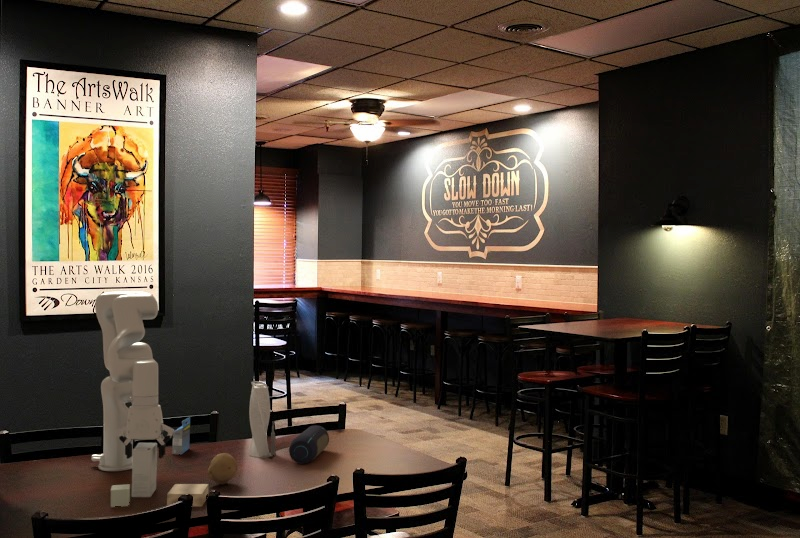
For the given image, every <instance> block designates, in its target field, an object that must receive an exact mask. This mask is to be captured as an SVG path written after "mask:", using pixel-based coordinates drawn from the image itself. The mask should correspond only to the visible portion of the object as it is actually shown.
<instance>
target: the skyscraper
mask: <svg viewBox="0 0 800 538" xmlns="http://www.w3.org/2000/svg"><path fill="white" fill-rule="evenodd" d="M248 411H249V415H248V416H249V425H250V431H251V435H252V437H251V441H250V442H251V443H250V449H249V453H248V456H249V457H252V458H258V459H262V460H264V459H267V458H270V457H273V455H274V456H277V454H276V451H275V450H276V443H275V437H276V433H275V431H274V430H275V423H274V421H272V426H271V433H270V445H269V444H268V439H267V432H268V426H269V423H270V416H271V415H270V414H271V401H270V392H269V387H268V385H267V383H265V382H262V381H258V380H257V381H256V380H254V381H251V393H250V398H249V410H248ZM269 446H270V448H269ZM269 449H270V450H269Z"/></svg>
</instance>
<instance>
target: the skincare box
mask: <svg viewBox="0 0 800 538" xmlns="http://www.w3.org/2000/svg"><path fill="white" fill-rule="evenodd" d="M157 467H158V443H157V442H138V443H137V444H136V445H135V446H134V448H133V465H132V469H131V498H151V497H152V495H154V493H155V491H156V490H157V472H158V471H157V469H158V468H157Z"/></svg>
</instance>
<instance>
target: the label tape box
mask: <svg viewBox="0 0 800 538" xmlns="http://www.w3.org/2000/svg"><path fill="white" fill-rule="evenodd" d="M181 424H182V425H181V426H180V427H178V428H177V429H174V433H173V435H172V451H171V454H172V455H179V454H180V455H183V454H184V453H185V452H187V451H188V450H189V449H190V436H191V435H190V434H191V417H190V416H189V417H187V418H185V419H183V420H182V421H181Z"/></svg>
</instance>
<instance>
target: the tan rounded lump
mask: <svg viewBox="0 0 800 538" xmlns="http://www.w3.org/2000/svg"><path fill="white" fill-rule="evenodd" d="M237 472H238V464H237V461H236V459H235V457H234V456H232V455H231V454H230V453H227V452H223V453H218V454H217V455H215V456H214V457H213V458H212V460H211V461H210V464H209V467H208V469H207V473H206V474H207V477H208V479H209V480H211V481H213V482H215V483H216V484H219V485H226V484H227V483H228V482H230V481H231V480H232V479H233V478H234V477H235V476H236V474H237Z"/></svg>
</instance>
